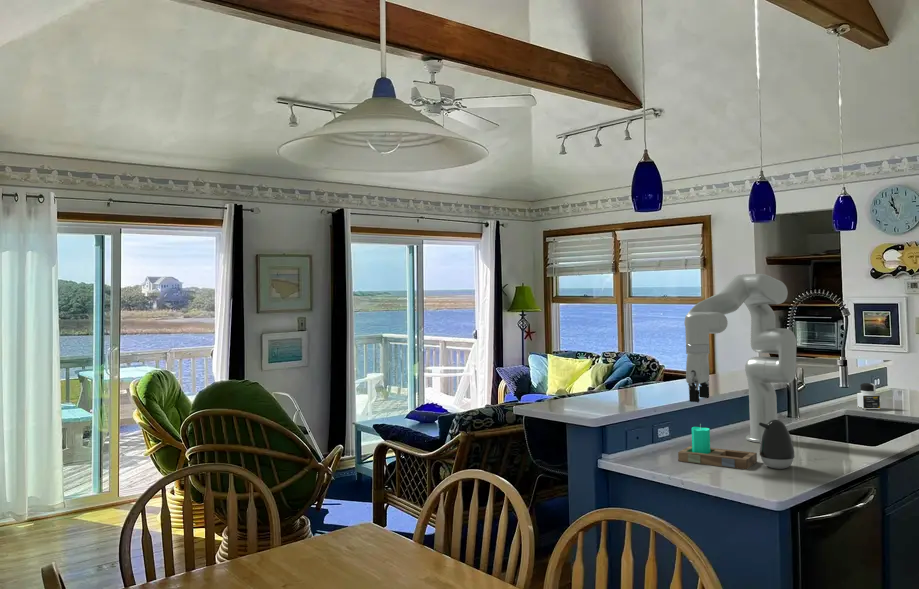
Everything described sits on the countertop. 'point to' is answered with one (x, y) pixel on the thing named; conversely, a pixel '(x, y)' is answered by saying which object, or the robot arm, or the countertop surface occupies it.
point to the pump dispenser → (776, 445)
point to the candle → (701, 440)
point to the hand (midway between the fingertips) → (699, 399)
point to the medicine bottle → (868, 396)
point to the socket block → (719, 458)
